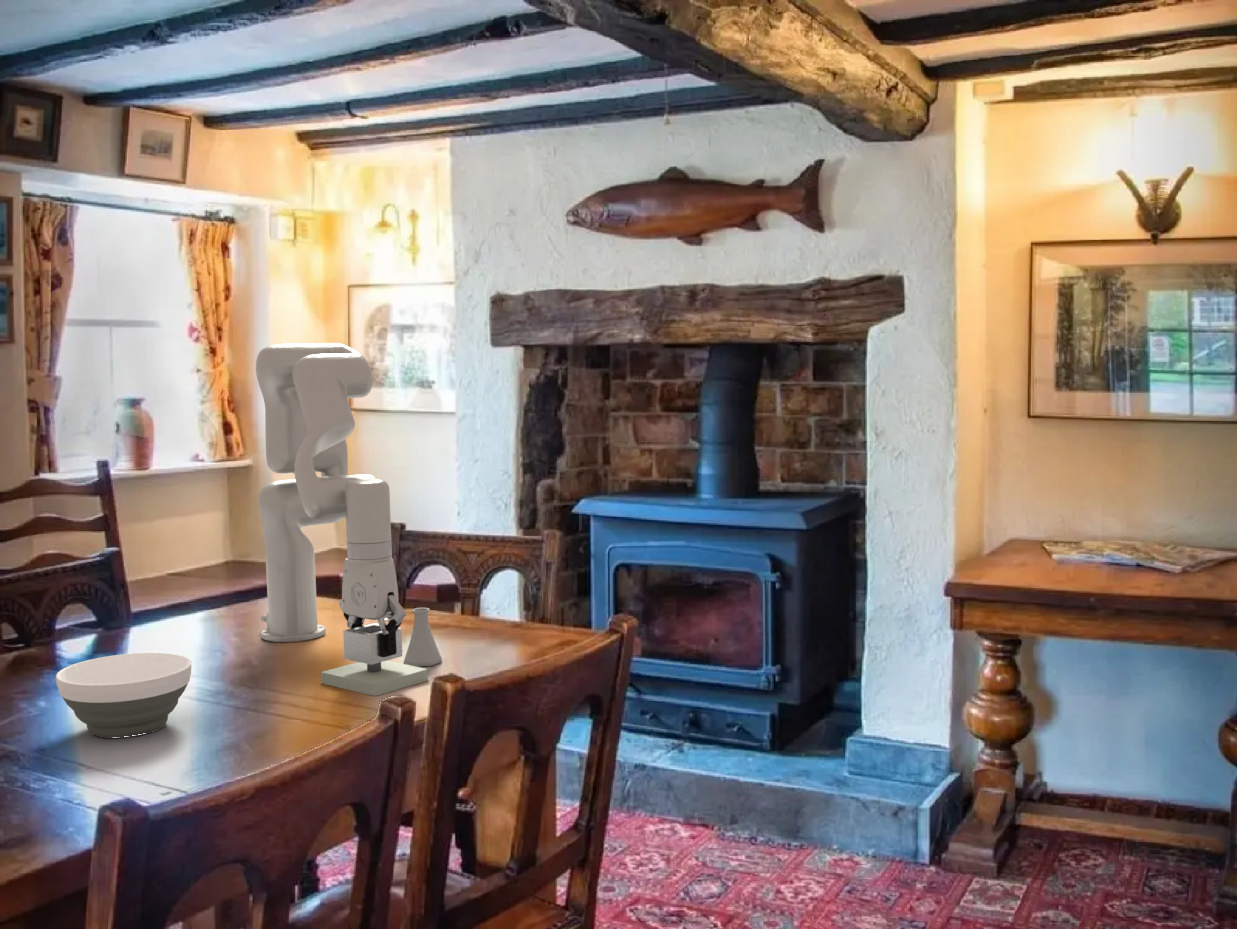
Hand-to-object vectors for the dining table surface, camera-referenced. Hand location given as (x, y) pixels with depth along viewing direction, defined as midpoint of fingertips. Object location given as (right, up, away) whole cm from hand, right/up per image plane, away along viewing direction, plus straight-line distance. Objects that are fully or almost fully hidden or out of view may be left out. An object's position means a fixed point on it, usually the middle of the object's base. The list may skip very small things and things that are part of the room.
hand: (373, 651), depth 222 cm
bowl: (-33, -9, -24) cm, 42 cm away
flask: (+7, -4, +13) cm, 15 cm away
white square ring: (0, -1, 0) cm, 1 cm away
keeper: (0, -5, 0) cm, 5 cm away
